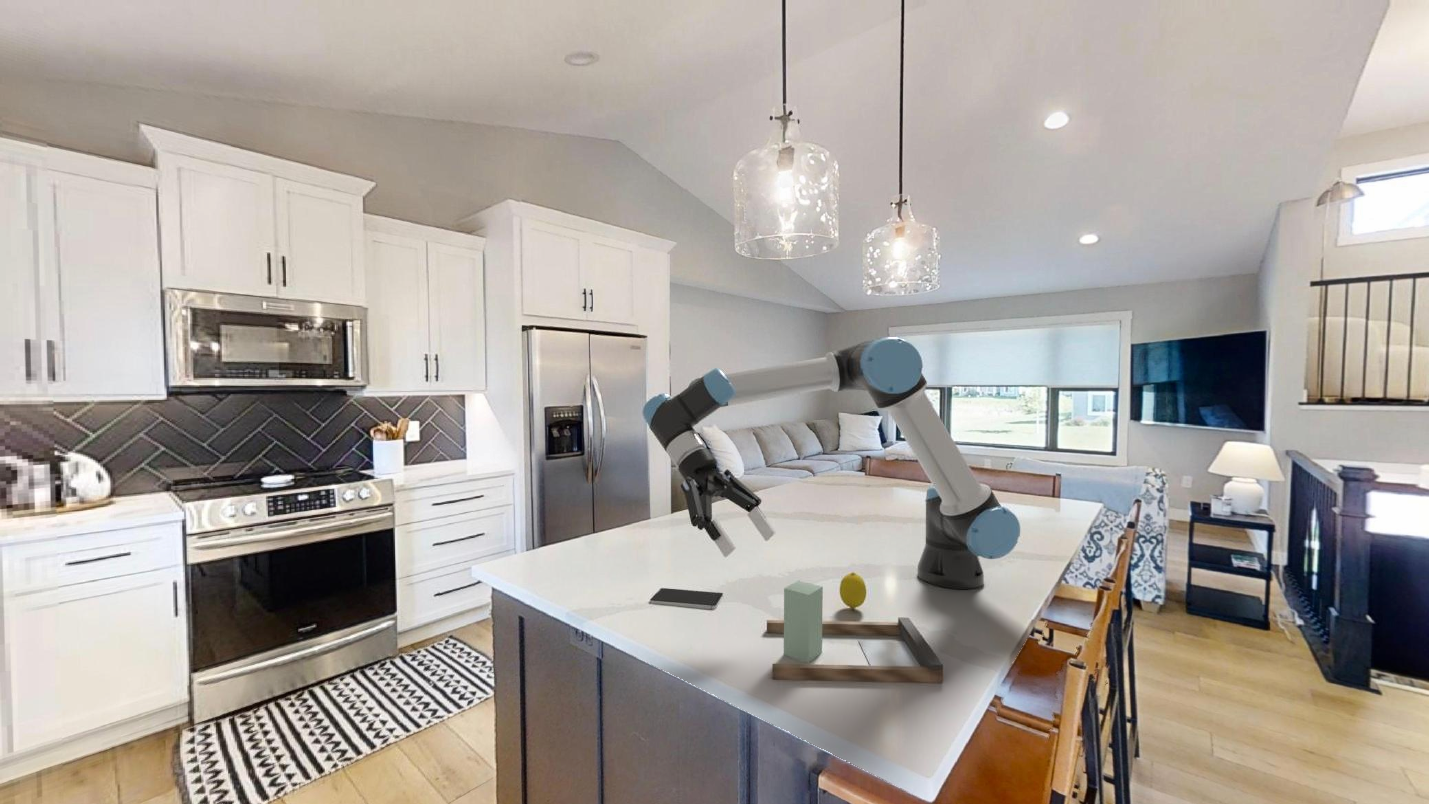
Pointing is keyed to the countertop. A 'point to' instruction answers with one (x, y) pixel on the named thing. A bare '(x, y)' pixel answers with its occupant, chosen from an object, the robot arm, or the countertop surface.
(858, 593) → the lemon
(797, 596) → the block
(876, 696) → the countertop surface
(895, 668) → the track
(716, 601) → the smartphone
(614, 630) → the countertop surface
